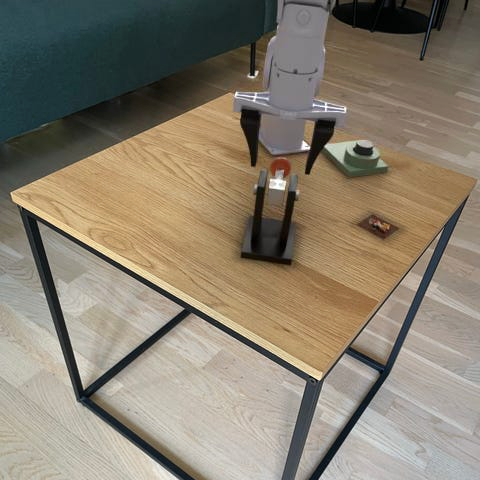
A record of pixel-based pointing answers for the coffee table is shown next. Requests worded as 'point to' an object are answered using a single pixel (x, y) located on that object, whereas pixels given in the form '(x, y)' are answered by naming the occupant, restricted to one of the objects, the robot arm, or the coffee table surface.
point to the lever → (278, 181)
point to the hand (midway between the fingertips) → (280, 167)
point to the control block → (354, 159)
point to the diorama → (378, 226)
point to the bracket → (271, 227)
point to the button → (364, 147)
